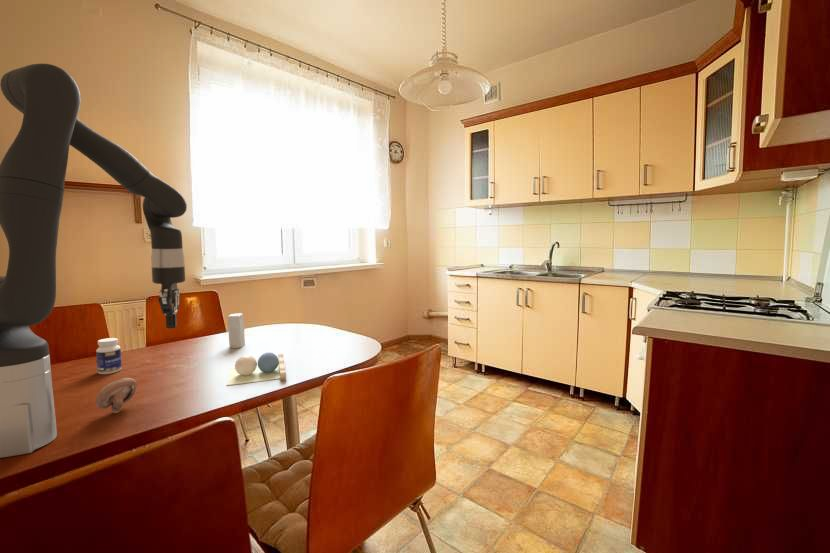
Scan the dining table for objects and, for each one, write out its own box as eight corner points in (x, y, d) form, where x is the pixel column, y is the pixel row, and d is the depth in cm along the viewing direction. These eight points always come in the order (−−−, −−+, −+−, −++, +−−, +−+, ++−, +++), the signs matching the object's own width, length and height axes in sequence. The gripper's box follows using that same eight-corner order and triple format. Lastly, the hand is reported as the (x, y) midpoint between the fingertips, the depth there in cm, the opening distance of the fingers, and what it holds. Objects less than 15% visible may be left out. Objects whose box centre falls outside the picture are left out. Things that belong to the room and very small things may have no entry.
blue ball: (283, 362, 111) (266, 352, 108) (270, 379, 110) (252, 368, 107) (282, 356, 116) (266, 346, 114) (269, 372, 115) (253, 362, 113)
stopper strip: (285, 380, 105) (285, 372, 105) (280, 381, 105) (280, 372, 105) (283, 361, 122) (283, 353, 122) (278, 361, 121) (278, 354, 121)
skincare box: (241, 347, 137) (240, 316, 135) (228, 348, 136) (227, 316, 134) (245, 343, 143) (244, 312, 141) (232, 343, 142) (231, 313, 140)
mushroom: (96, 422, 81) (93, 387, 80) (97, 412, 86) (94, 379, 85) (139, 411, 86) (137, 378, 85) (137, 402, 90) (135, 371, 90)
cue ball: (260, 373, 108) (253, 355, 107) (238, 381, 106) (231, 363, 105) (259, 367, 114) (252, 349, 112) (239, 375, 111) (232, 357, 110)
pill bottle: (108, 375, 108) (105, 342, 107) (92, 374, 109) (89, 341, 108) (126, 368, 114) (124, 337, 113) (112, 367, 115) (109, 336, 114)
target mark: (280, 378, 107) (280, 378, 107) (226, 385, 101) (226, 385, 101) (278, 363, 120) (278, 363, 120) (230, 369, 114) (230, 368, 114)
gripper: (178, 266, 95) (182, 332, 97) (189, 263, 107) (192, 321, 109) (144, 267, 92) (148, 334, 94) (158, 264, 105) (162, 323, 106)
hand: (171, 327), depth 101 cm, fingers closed
